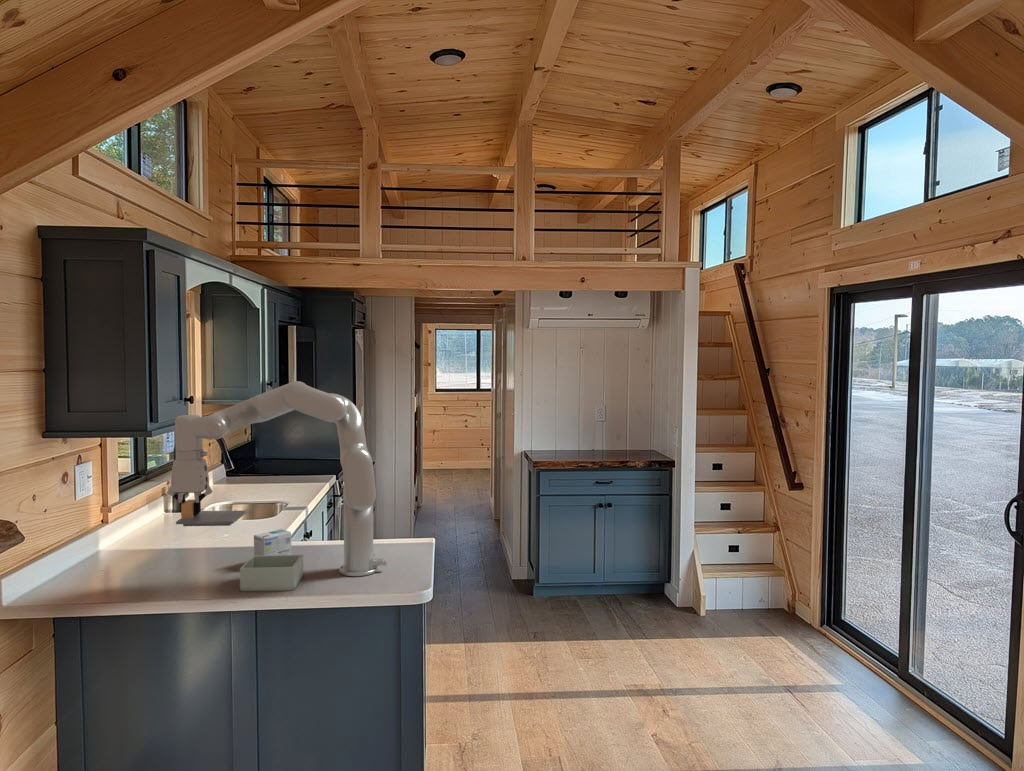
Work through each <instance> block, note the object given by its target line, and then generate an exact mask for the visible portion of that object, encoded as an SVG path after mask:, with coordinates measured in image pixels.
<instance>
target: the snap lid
mask: <svg viewBox="0 0 1024 771" xmlns="http://www.w3.org/2000/svg"><path fill="white" fill-rule="evenodd" d="M194 503H195V499H187V500H186V501H185V502H184V503H182V504H181V513H180V516H181V518H180V519H178V520H177V521H175V524H176V525H182V526H183V527H223V526H224V527H225V526H228V527H230V526H231V525H232V524H235V523H236V522H237V521H238V520H240V519H241V518H242V517H243V516H244V515H246V514H247V510H243V509H242V510H201V511H200V512H199V514H198V515H196V516H194V509H193V504H194Z"/></svg>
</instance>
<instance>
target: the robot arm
mask: <svg viewBox="0 0 1024 771" xmlns="http://www.w3.org/2000/svg"><path fill="white" fill-rule="evenodd" d="M293 411H296V412H299V413H302V414H304V415H307V416H310V417H313V418H316V419H319V420H321V421H324V422H329V423H335V425H336V429H337V436H338V440H339V441H338V442H339V451H340V452H339V453H340V454H339V455H340V456H339V459H340V462H339V463H340V465H341V468H342V476H343V489H342V499H343V501H342V502H343V504H342V505H343V564H342V565H340V567H339V568H338V569H339V570H338V571H339V573H340V574H341V575H343V576H347V577H362V576H363V577H364V576H369V575H372V574H374V573H375V574H376V573H377V572H378V570H379V566H381V567H386V566H387V565H388V559H385V558H377V557H376V554H375V553H374V503H375V501H376V498H377V489H376V480H375V472H374V464H373V459H372V455H371V454H370V452H369V449H368V446H367V440H366V438H367V437H366V432H365V427H364V420H363V417H362V414H361V413H360V410H359V409H358V408H357V406H356V405H355V404H354V403H353V401H351V400H350V399H348V398H347V397H345V396H343V395H340V394H338V393H332V392H330V393H328V392H326V391H323V390H320V389H318V388H314V387H312V386H310V385H307V384H306V383H305V382H303V381H299V380H298V381H297V380H295V381H292V382H289V383H287V384H284V385H281V386H278V387H276V388H273V389H270V390H268V391H264V392H263V393H259V394H257V395H255V396H252V397H251V398H248V399H246V400H244V401H242V402H239V403H236V404H234V405H231V406H229V407H226V408H223V409H220V410H218V411H216V412H213V413H211V414H209V415H207V416H206V415H205V416H200V415H197V414H183V415H179V416H177V417H176V418H175V421H174V422H175V423H174V430H175V433H174V434H175V460H173V463H172V468H171V476H170V477H171V478H170V487H169V488H168V490H167V492H166V494H167V495H169V496H171V497H173V498H174V499H175V500H176V501H177V503H178V504H179V513H180V514H181V504H182V503H184V502H185V501H187V500H186V495H187V494H190V493H191V494H193V495H194V496H193V497H194V500H195V503H194V504H193V509H194V516H196V515H198V514H199V512H200V511H202V508H201V506H202V505H201V503H202V501H203V500H204V499H205V498H206V497H208V496H209V495H211V494H213V493H214V492H213V490H212V488H211V486H210V476H209V469H208V463H207V459H206V458H204V457H207V456H208V451H205V450H204V449H203V444H204V443H203V441H204V440H219V439H222V438H223V437H225V435H227V434H228V433H230V432H231V433H232V432H233V431H235V430H237V429H241V428H244V427H246V426H248V425H252V424H258V423H264V422H268V421H270V420H272V419H275V418H277V417H280V416H283V415H285V414H288V413H290V412H293Z"/></svg>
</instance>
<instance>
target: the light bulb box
mask: <svg viewBox="0 0 1024 771" xmlns="http://www.w3.org/2000/svg"><path fill="white" fill-rule="evenodd" d="M253 550H254V551H253V552H254V553H253V554H254V555H253V556H267V555H292V532H291V531H289V530H285V529H282V528H280V529H276V530H275V529H274V530H270V531H268V532H267V531H266V532H262V533H258V534H254V535H253Z"/></svg>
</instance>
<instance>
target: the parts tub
mask: <svg viewBox="0 0 1024 771" xmlns="http://www.w3.org/2000/svg"><path fill="white" fill-rule="evenodd" d="M303 578H304V554H291V555H267V556H254V555H252V556H250V557H249V559H247V561H245V563H243V565H241V567H240V568H239V592H266V591H267V592H269V591H271V592H272V591H273V592H275V591H277V592H279V591H295V590H296V589H297V587H298V585H299V584H300V582H301V581H302V579H303Z"/></svg>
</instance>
